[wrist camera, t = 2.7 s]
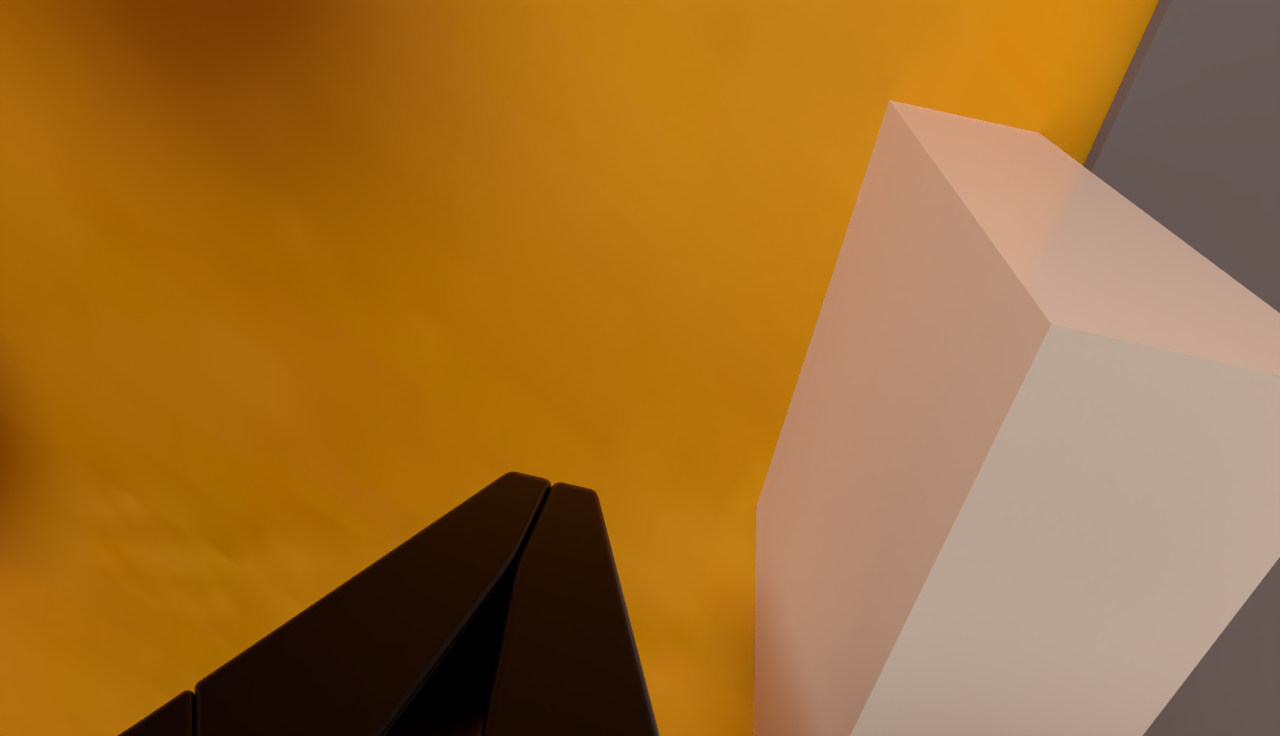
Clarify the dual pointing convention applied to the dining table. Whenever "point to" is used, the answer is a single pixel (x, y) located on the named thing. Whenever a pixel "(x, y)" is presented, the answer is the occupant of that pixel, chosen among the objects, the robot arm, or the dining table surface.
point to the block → (1011, 455)
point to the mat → (1228, 237)
